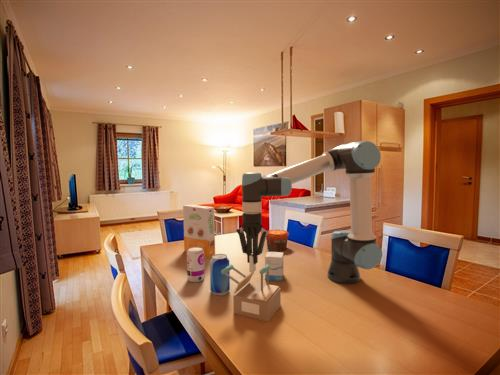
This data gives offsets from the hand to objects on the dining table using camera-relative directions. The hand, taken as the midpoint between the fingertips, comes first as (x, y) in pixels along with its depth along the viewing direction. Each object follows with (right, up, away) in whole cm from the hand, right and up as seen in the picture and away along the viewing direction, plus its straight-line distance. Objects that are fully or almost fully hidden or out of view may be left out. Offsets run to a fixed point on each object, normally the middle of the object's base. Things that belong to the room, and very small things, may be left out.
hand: (252, 271), depth 112 cm
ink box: (+11, -11, +27) cm, 32 cm away
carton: (+2, -14, -4) cm, 14 cm away
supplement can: (-27, -12, +26) cm, 39 cm away
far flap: (-3, -3, -3) cm, 5 cm away
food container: (+17, -8, +77) cm, 80 cm away
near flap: (+5, -6, -5) cm, 10 cm away
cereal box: (-33, -9, +67) cm, 75 cm away
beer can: (-14, -13, +12) cm, 22 cm away
